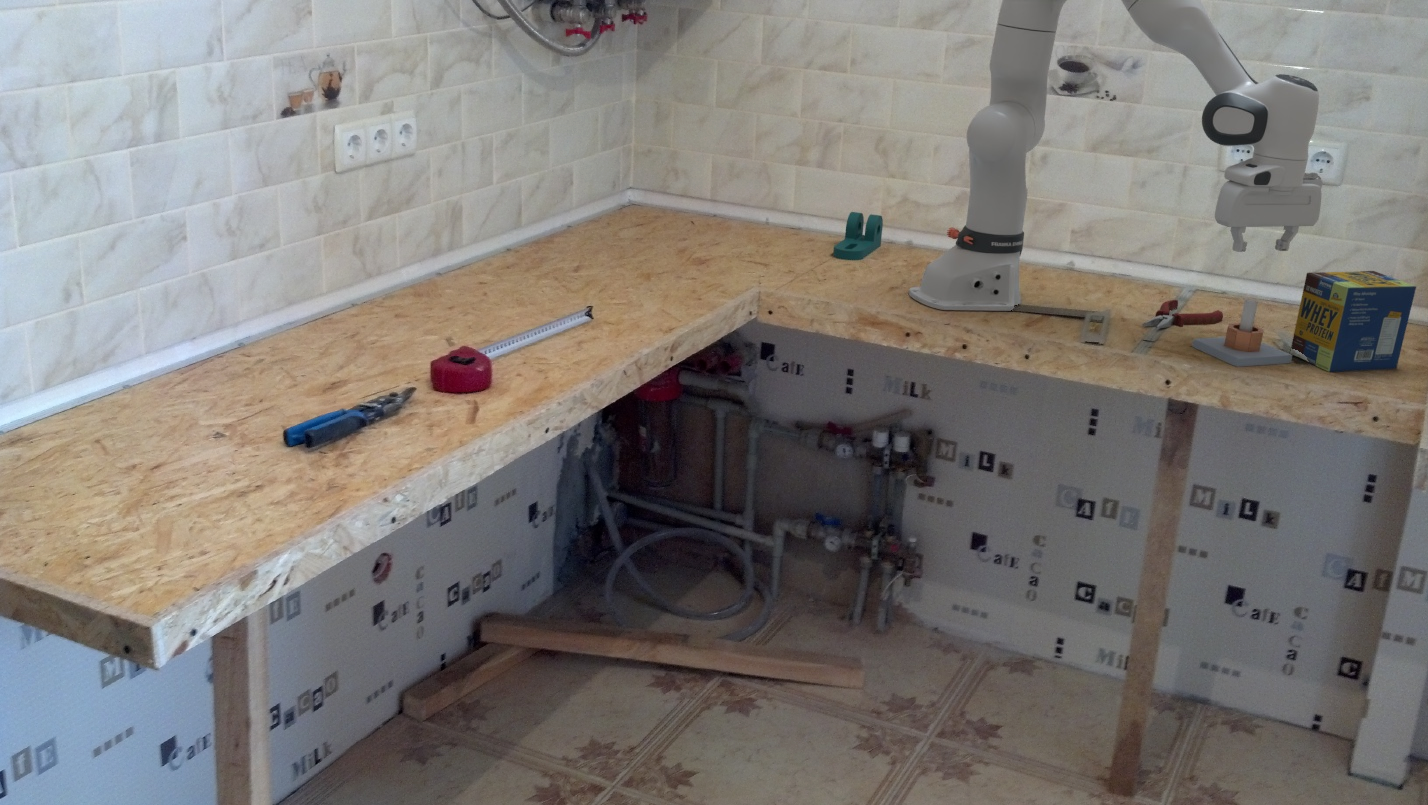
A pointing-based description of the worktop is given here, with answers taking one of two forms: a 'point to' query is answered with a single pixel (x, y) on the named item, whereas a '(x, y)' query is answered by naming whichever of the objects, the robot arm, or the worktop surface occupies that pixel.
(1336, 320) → the protein box
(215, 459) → the worktop surface
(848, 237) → the bracket
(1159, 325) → the pliers
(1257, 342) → the ring
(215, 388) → the worktop surface
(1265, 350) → the shaft block
